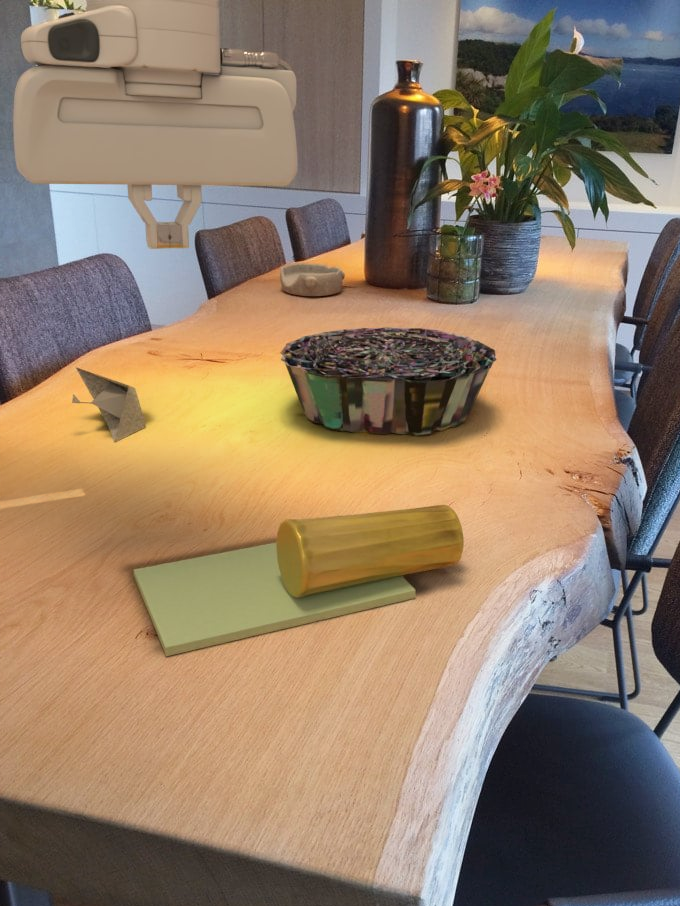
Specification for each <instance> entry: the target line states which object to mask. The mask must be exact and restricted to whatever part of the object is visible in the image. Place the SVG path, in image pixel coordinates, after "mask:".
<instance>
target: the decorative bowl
mask: <svg viewBox="0 0 680 906" xmlns="http://www.w3.org/2000/svg"><path fill="white" fill-rule="evenodd" d="M279 353H280V354H281V355H282V356H281V358H280V361H282V362H283V363H284V364H285V367H286V369H287V372H288V375H289V378H290V380H291V383H292V385H293V388H294V391H295V393H296V396H297V399H298V401H299V404H300V407H301V409H302V412H303V414H304V416H305V417H306V418H307V420H308V421H309V422H310V423H312V424H313V423H314V424H321V425H323V427H325V428H326V429H328V430H332V431H336V432H349V433H354V434H355V433H369V435H370V434H371V435H383V436H384V435H385V436H386V435H389V434H391V433H392V434H400V435H406V434H407V435H410V436H415V437H418V436H424V435H432V434H433V433H434V432H435V431H444V430H446V429H448V428H456V427H459V426H460V425H461V424H462V423H464V422H465V421H466V419H467V417H468V416H470V414H471V412H472V409H473V407H474V404H475V402H476V400H477V398H478V396H479V393H480V392H481V390H482V387H483V385H484V382H485V380H486V378H487V376H488V374H489V371H490V369H492V366H493V364H494V362H496V361H497V358H496V350H495V349H493V348H492V347H490V346H488V345H487V344H485V343H482V342H480V341H479V340H474V339H472V338H471V337H469V336H466V335H463V334H457V333H453V332H446V331H442V330H438V329H430V328H420V327H416V328H415V327H413V328H412V327H411V328H406V327H405V328H404V327H388V326H385V327H362V328H361V327H360V328H346V329H345V328H344V329H343V328H342V329H337V330H330V331H324V332H320V333H315V334H308V335H304V336H302V337H301V336H300V338H297V339H295V340H292V341H290V342H288V343H286V344H285V346H284V347H283V348H282V350H280V352H279Z"/></svg>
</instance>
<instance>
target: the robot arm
mask: <svg viewBox="0 0 680 906" xmlns="http://www.w3.org/2000/svg"><path fill="white" fill-rule="evenodd" d="M85 1H86V2H85V3H86V7H85V11H83V12H79V13H75V12H73V11H72V12H68V13H67V12H65V13H63V14H61V15H59V16H58V18H56V19H52V20H46V21H44V22H40V23H36V24H33V25H30V26H28V27H26V28H25V29H24V30H23V31H22V33H21V35H20V45H21V51H22V55H23V58H24V59H25V60H26V61H27V62H28V63H29V64H32V65H33V66H32V67H30V68H29V69H27V70H25V71H24V72H23V73H21V75H20V77H19V79H18V80H17V83H16V86H15V90H14V98H13V115H12V116H13V120H12V121H13V125H12V126H13V127H12V128H13V146H14V147H13V149H14V156H15V166H16V170H17V171H18V172H19V173H20V175H21V176H22V177H23V178H25V179H26V180H27V181H28V182H30V183H31V184H37V185H39V184H42V185H126V187H127V197H128V200H129V201H130V203H131V205H132V206H133V208H134V209H135V211H136V213H137V215H138V216H139V217H140V219H141V221H142V222H143V223H144V226H145V240H146V245H147V248H149V249H150V250H161V249H189V246H190V236H189V235H190V234H189V233H190V232H189V225H191V223H192V221H193V219H194V217H195V216H196V214H197V212H198V210H199V208H200V206H201V204H202V202H203V194H202V193H203V192H202V186H235V187H236V186H237V187H238V186H240V187H241V186H242V187H243V186H246V187H249V186H250V187H288V186H289V185H290V184H291V183H292V182H293V181H294V179H295V177H296V176H297V175H298V172H299V169H298V166H299V163H298V161H299V160H298V146H297V145H298V144H297V135H296V126H295V121H294V111H295V109H296V106H297V95H298V94H297V93H298V92H297V91H298V90H297V87H298V85H297V77H296V74H295V72H294V69H293V68H292V67H291V66H290V64H289V63H288V62H286V61H285V60H283V59H281V58H280V57H279V55H278V53H275V52H271V51H258V52H257V51H256V52H254V51H247V50H244V49H238V48H237V49H235V48H227V47H226V48H225V47H221V32H220V29H221V27H220V1H219V0H85ZM279 66H280V67H282V68H283V69H278V67H279ZM152 186H176V193H177V194H176V196H177V198H178V199H180V200H182V201H183V202H182V204H181V206H180V209H179V211H178V213H177V215H176V217H175V219H174V221H157V220H156V218H155V216H154V215H153V213H152V212H151V210H150V208H149V207H148V205H147V204H146V202H152V201H153V187H152Z"/></svg>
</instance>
